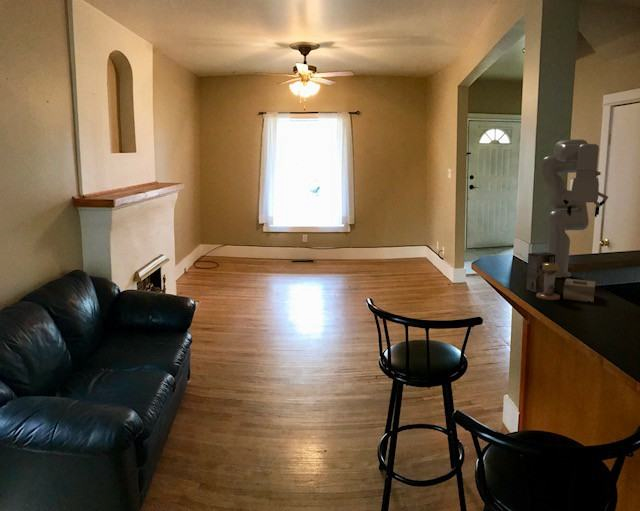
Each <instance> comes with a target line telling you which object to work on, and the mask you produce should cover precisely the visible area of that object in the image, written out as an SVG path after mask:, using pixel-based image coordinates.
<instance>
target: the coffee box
mask: <svg viewBox="0 0 640 511" xmlns="http://www.w3.org/2000/svg"><path fill="white" fill-rule="evenodd" d="M527 255H528V256H527V271H526V290H528V291H531V292H533V293H539V292H543V288H544V275H545V272H543V271H542V265H543V263H555V254H551V253H547V251H545V252H544V251H542V252H531V253H527Z"/></svg>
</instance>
